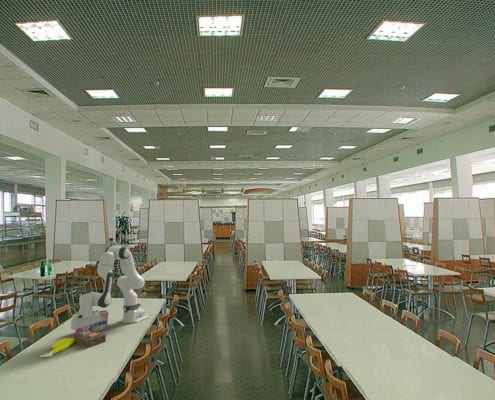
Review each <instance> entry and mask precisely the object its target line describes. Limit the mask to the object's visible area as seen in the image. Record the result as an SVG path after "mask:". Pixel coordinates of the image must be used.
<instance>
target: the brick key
mask: <svg viewBox="0 0 495 400" xmlns="http://www.w3.org/2000/svg"><path fill="white" fill-rule="evenodd" d="M96 336H98V334H96V333H92V334H89V335H87V337H89V338H94V337H96Z"/></svg>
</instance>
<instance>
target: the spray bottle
mask: <svg viewBox="0 0 495 400" xmlns="http://www.w3.org/2000/svg"><path fill="white" fill-rule="evenodd" d="M74 342H75V339H74V338H72V337H71V338H70V337H69V338H68V337H67V338H63V339H60V340H59V341H57V342H56V343H54V344H53V345H52V350H50V352H45V354H42V355H39V357H40V358H51V357H53V355H54V354H57V353H59V352H61V351H64V350H66V349H68V348H69V347H70V346H72V345H73V344H75V343H74Z"/></svg>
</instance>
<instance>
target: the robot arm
mask: <svg viewBox="0 0 495 400" xmlns="http://www.w3.org/2000/svg"><path fill="white" fill-rule="evenodd" d="M115 260H119V264H120V270H121V273H123V275H122V276H118V278H117V281H116V285H117V287H118V288H120V290H121V292H122V295H123V304H122V305H123V306H122V307H123V309H122V310H123V313H122V319H121V323H123V324H131V323H132V324H133V323H134V324H136V323H140V322H141V321H144V320H146V319H147V318H149V315H147V314H146V311H145V310H144V309H142V307H141V306H142V303H138V293H136V292H135V291H134V290H138V289H142V288H143V287H144V285H145V283H146V282H145V279H144V277H142V275H140V273H138V270H137V269H136V266H135V261H134V257H133V254H132V251H131V250H130V248H129V247H127V246H122V245H121V246H120V245H112V246H108V247H107V248H105V250H104V253H102V256H101V257H100V260H99V263H98V265H97V268H96V269H97V271H96V272H97V274H98V275H99V276H100V277H101V278H102V280H103V281H104V285H103V292H102V293H101V292H96V291H92V290H90V289H88V290H84V291H82V292H81V293H80V295H79V311H77V312H75V313H74V314H72V315H71V317H72V319H71V320H70V329H71V330H74V331H75V329H78V328H82V329H83V333H85V332H88V329H89V327H90V325H92V324H95V323H99V321H100V317H99V310H93V309H94V308H93V307H99V308H101V309H102V308H103V309H105V308H107V307H108V306H110V304H111V302H112V293H113V292H112V291H113V284H114V274H113V271H114V270H113V269H114V265H115ZM85 326H87V328H86V329H84V328H85Z"/></svg>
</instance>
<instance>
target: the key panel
mask: <svg viewBox="0 0 495 400" xmlns="http://www.w3.org/2000/svg"><path fill="white" fill-rule="evenodd" d="M88 331H90V332H91V333H90V334H92V333H96V334H98V336H96V337H94V338H89V337H87V335H89V334H87V335H81V334H80V333H77V334H76V333H75V334H72V337H71V338H74V339H75V342H74V343H73V344H76V345H78V346H80V347H83V348H85V349H88V348H91V347H94V346H98V345H100V344H102V343H105V342H106V341H107V340H106V339H107V334H106V333H103V332H101V331H95V330H92V329H90V330H88Z"/></svg>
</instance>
